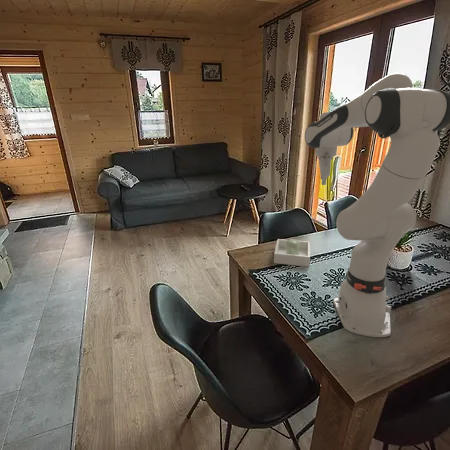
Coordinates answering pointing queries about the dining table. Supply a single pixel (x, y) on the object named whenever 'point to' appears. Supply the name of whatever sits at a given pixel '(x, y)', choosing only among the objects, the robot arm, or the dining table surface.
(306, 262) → the bin
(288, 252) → the pale green rounded block
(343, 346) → the dining table surface
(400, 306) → the dining table surface
